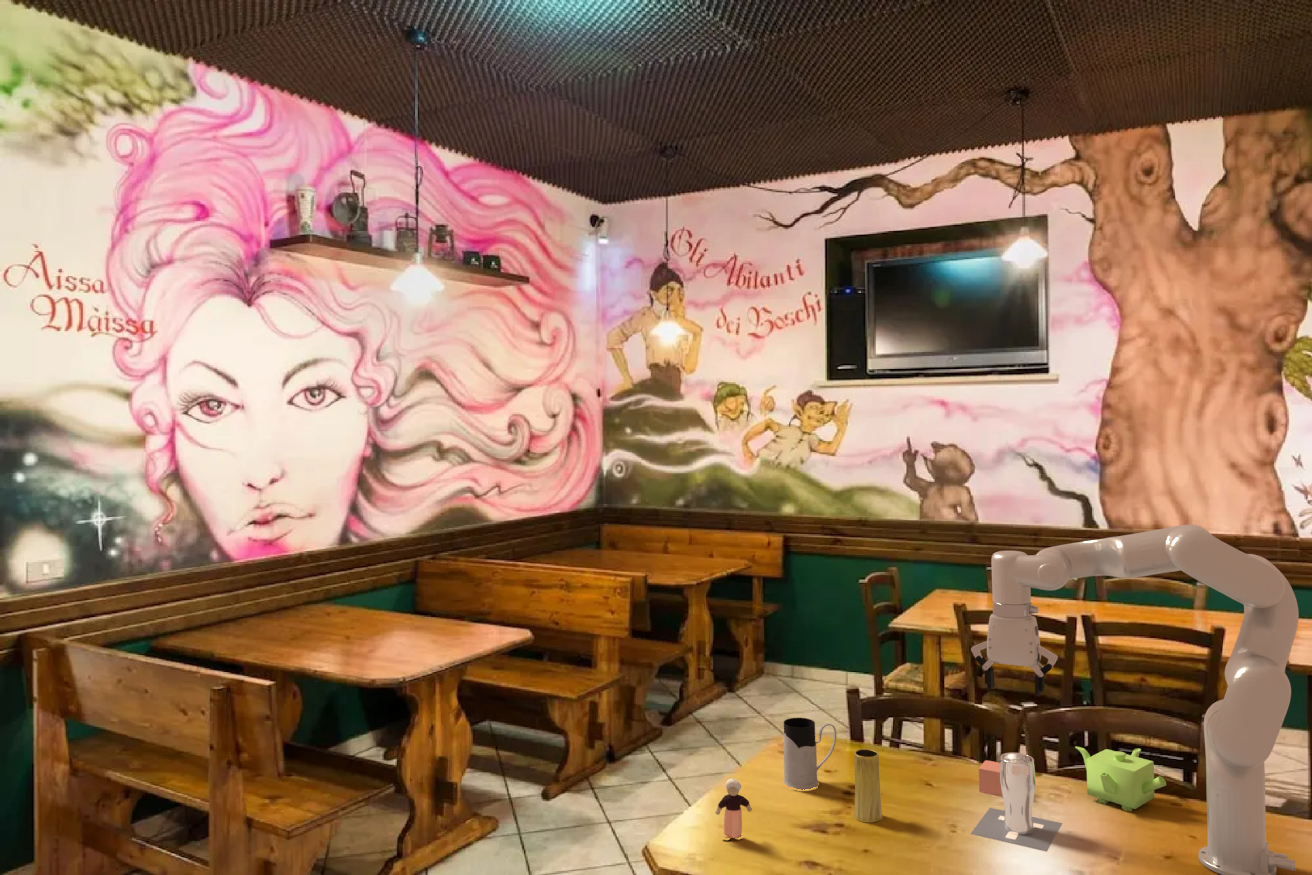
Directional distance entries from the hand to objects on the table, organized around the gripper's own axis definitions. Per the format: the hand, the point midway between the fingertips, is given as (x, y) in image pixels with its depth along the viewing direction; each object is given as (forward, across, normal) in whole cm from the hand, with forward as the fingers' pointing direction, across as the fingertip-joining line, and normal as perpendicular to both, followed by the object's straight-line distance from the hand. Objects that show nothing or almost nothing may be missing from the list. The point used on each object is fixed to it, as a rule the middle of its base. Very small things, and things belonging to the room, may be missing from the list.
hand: (1014, 690), depth 191 cm
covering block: (+30, +9, -18) cm, 36 cm away
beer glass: (+29, 0, 0) cm, 29 cm away
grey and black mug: (+30, +48, -1) cm, 57 cm away
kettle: (+30, -16, -27) cm, 43 cm away
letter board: (+30, 0, 0) cm, 30 cm away
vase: (+30, +30, +10) cm, 43 cm away
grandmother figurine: (+29, +50, +34) cm, 67 cm away
